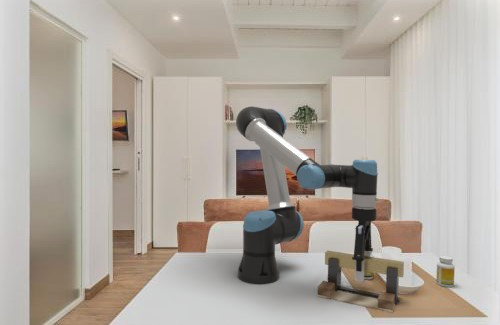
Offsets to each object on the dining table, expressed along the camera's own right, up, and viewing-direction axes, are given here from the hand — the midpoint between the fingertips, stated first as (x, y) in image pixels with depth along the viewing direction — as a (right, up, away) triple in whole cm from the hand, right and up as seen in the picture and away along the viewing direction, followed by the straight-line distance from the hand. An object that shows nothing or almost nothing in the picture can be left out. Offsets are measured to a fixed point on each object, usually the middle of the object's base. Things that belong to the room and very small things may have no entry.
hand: (362, 275), depth 110 cm
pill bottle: (+6, -6, +16) cm, 18 cm away
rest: (-4, -6, -5) cm, 9 cm away
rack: (0, -6, 0) cm, 6 cm away
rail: (0, +2, 0) cm, 2 cm away
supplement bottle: (+32, -7, +10) cm, 35 cm away
